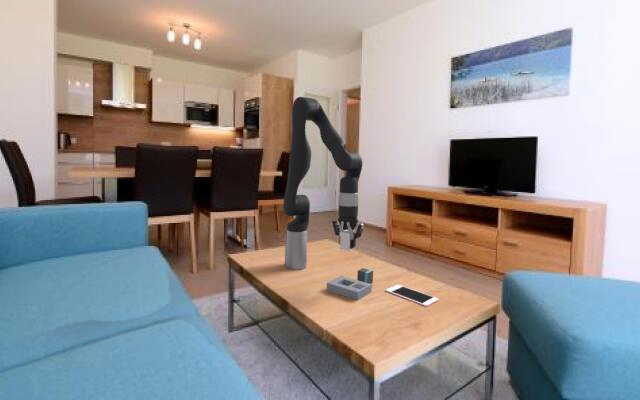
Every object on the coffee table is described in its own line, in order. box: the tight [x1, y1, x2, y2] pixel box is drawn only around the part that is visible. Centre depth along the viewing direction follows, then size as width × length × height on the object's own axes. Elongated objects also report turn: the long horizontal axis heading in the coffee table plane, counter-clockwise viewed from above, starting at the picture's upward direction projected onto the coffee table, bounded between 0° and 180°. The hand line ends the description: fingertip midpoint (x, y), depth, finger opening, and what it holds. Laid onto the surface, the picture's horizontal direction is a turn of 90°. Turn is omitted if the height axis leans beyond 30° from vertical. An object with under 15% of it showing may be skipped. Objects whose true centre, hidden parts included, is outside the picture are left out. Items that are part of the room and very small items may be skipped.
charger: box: [339, 230, 355, 252], centre depth 135 cm, size 4×4×7 cm
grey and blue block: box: [356, 267, 374, 284], centre depth 141 cm, size 5×4×5 cm
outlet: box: [326, 275, 373, 301], centre depth 132 cm, size 14×10×3 cm
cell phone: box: [384, 284, 439, 308], centre depth 129 cm, size 9×18×1 cm, turn 43°
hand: (347, 247), depth 135 cm, fingers closed on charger, 4 cm apart
